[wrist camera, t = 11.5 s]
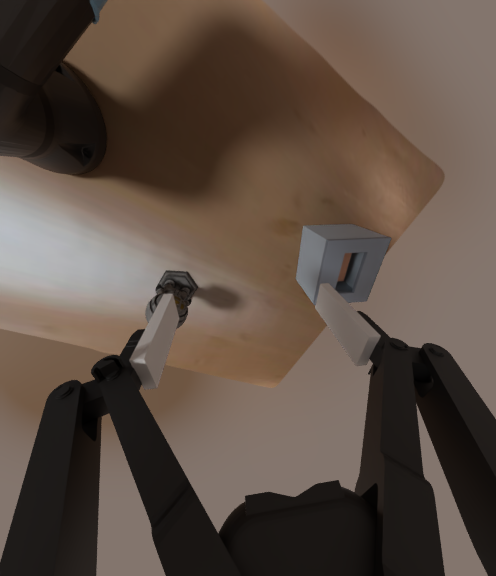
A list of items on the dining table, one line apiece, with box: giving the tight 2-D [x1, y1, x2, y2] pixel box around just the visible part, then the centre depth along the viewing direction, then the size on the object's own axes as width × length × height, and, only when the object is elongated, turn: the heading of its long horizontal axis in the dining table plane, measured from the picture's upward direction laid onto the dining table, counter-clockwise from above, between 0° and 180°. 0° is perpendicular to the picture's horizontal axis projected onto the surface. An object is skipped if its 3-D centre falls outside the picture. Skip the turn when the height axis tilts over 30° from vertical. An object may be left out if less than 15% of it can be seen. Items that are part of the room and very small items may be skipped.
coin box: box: [296, 224, 391, 305], centre depth 42 cm, size 14×12×12 cm
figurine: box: [146, 271, 198, 329], centre depth 41 cm, size 9×10×15 cm
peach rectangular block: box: [337, 253, 352, 282], centre depth 43 cm, size 7×3×8 cm, turn 1°
